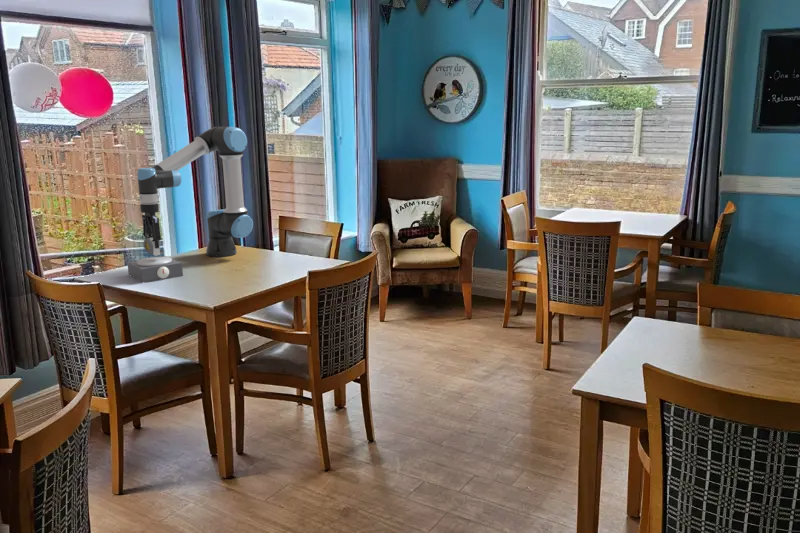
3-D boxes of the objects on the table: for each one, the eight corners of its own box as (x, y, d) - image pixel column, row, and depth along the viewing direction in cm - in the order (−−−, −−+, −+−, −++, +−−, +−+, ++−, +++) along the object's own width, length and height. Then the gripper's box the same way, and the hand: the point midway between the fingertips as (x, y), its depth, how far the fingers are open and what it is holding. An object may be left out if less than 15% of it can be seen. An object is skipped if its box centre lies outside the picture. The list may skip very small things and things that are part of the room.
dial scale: (128, 275, 308) (127, 260, 306) (167, 268, 319) (166, 254, 317) (143, 283, 294) (142, 267, 292) (183, 276, 305) (182, 261, 303)
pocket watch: (166, 252, 308) (164, 230, 306) (158, 256, 300) (156, 234, 298) (149, 251, 309) (147, 230, 307) (140, 255, 301) (138, 233, 298)
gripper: (132, 201, 304) (137, 251, 309) (149, 206, 289) (153, 258, 294) (149, 200, 309) (153, 249, 314) (166, 204, 294) (170, 256, 299)
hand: (153, 253), depth 304 cm, fingers closed on pocket watch, 7 cm apart
